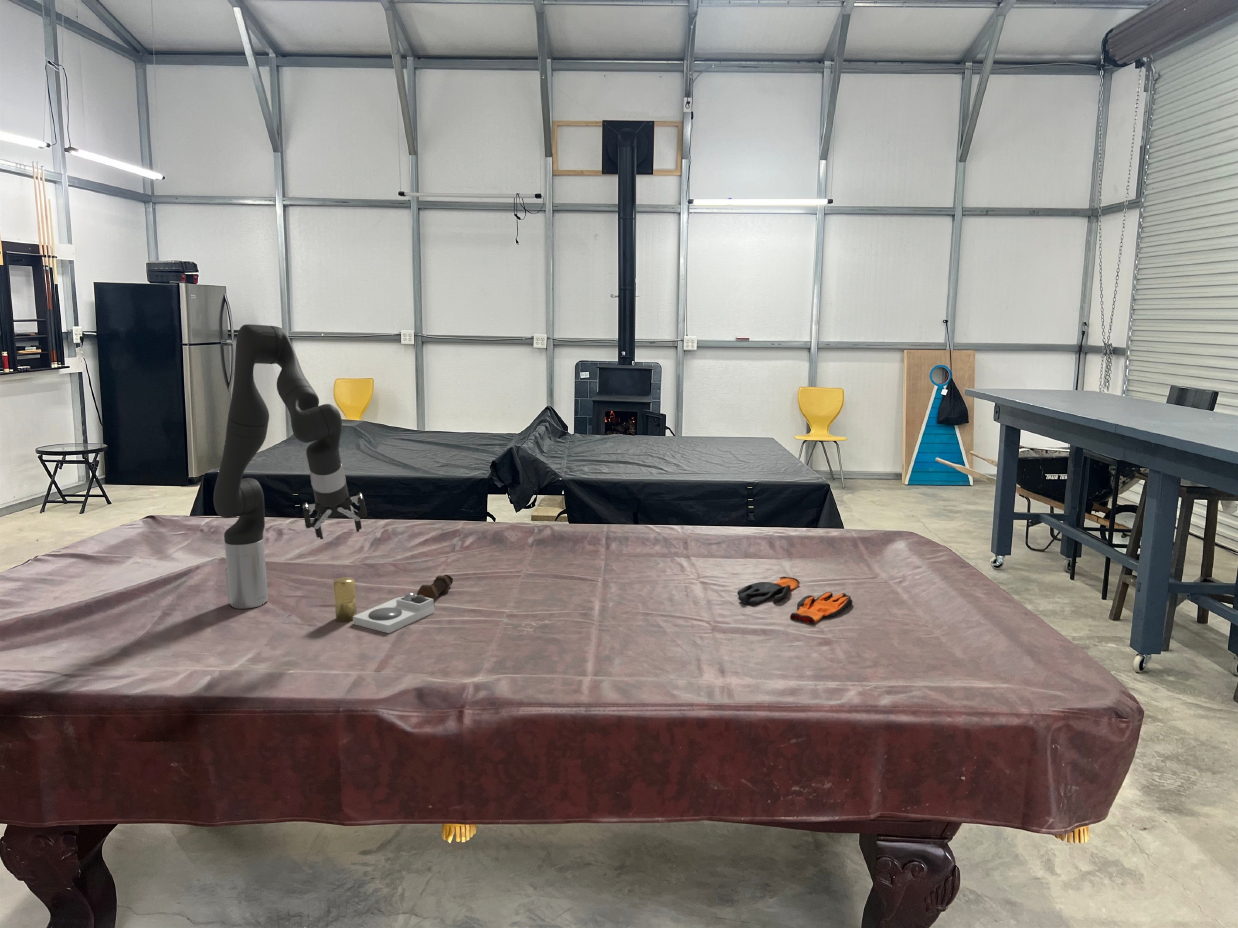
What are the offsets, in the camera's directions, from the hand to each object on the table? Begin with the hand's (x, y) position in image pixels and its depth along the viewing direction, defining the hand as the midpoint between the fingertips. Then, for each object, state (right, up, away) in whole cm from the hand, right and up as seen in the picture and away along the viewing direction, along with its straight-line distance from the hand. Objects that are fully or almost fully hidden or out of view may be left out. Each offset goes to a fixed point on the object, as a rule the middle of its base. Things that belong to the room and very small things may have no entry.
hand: (339, 533), depth 204 cm
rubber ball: (+18, -18, +9) cm, 27 cm away
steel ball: (+15, -18, +10) cm, 25 cm away
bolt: (+19, -19, +24) cm, 36 cm away
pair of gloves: (+115, -20, +19) cm, 119 cm away
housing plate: (+12, -22, +6) cm, 26 cm away
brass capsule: (0, -22, +6) cm, 23 cm away
